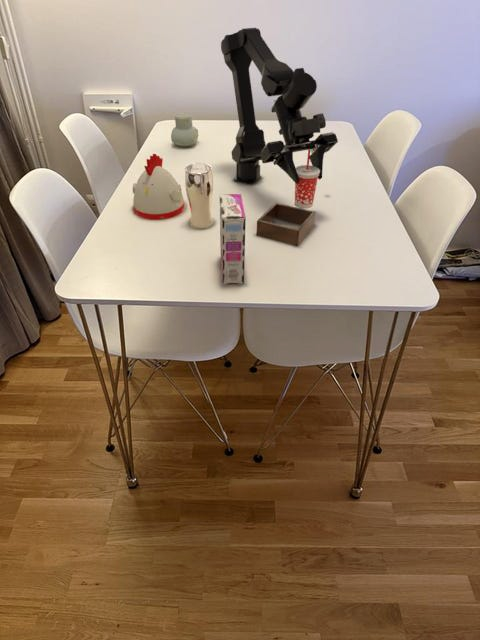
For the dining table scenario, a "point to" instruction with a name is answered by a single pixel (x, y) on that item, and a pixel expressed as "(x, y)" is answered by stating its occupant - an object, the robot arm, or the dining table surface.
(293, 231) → the crate
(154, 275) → the dining table surface
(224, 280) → the candy bar box
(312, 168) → the beverage cup
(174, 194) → the kitchen timer
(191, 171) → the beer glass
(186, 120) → the air freshener
